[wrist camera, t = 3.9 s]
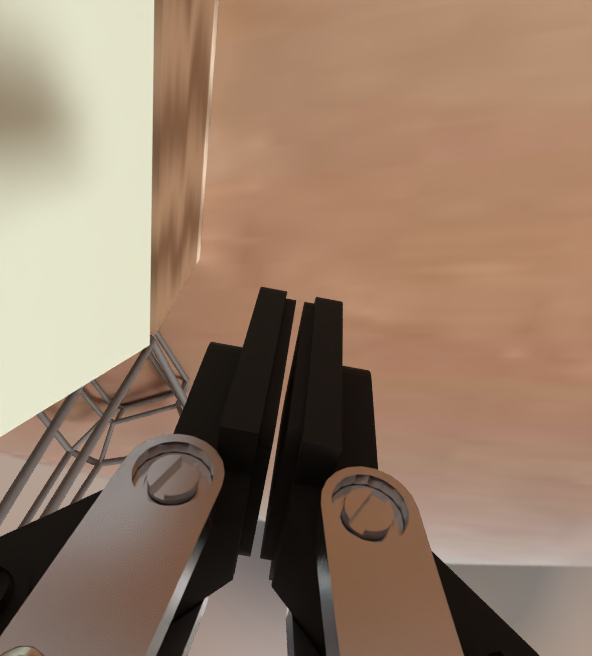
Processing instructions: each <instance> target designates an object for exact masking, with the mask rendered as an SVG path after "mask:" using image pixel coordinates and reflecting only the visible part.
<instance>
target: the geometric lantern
mask: <svg viewBox="0 0 592 656" xmlns="http://www.w3.org/2000/svg"><path fill="white" fill-rule="evenodd" d="M155 336H156V337H157V339H158V340H159V342H160V343H161V345H162V346H163V348H164V349H165V351H166V353H167V354H168V356H169V357H170V359H171V360H172V362H173V363H174V365H175V366H176V368H177V369H178V371H179V373H180V374H181V376H182V377H183V379H184V380H185V382H184V383H183V385H182V387H181V385H180V383H179V381H178V380H177V378H176V376H175V374H174V372H173V370H172V368H171V367H170V365H169V363H168V361H167V359H166V357H165V355H164V354H163V352H162V350H161V348H160V346H159V344H158V343H157V341H156V339H155V338H154V337H153V336H152V335H150V345H149V346H147V347H146V348H144V349H143V350H142V352H141V353H140V355H139V357H138V358H137V360H136V362H135V363H134V365H133V367H132V368H131V370H130V372H129V373H128V375H127V376H126V378H125V380H124V381H123V383H122V385H121V386H120V388H119V389H118V391H117V393H116V394H115V396H114V398H113V399H112V401H111V400H110V399H109V398H108V396H107V395H106V394H105V392H104V391H103V390H102V388H101V387H100V386H99V385H98V383H97V382H96V381H95V379H94V380H92V381H91V383H92V384H93V385H94V387H95V388H96V389H97V390H98V392H99V393H100V394H101V396H102V397H103V398H104V399H105V401H106V402H107V403H108V405H109V406H108V407H107V409H106V411H105V412H104V414H103V412H102V411H101V410H100V409H99V408H98V407H97V405H96V404H95V403H94V402H93V401H92V400H91V398H90V397H89V396H88V395H87V394H86V392H85V391H84V390H83V388H84V386H85V385H84V386H82V387H81V388H79V389H77V390H76V391H74V392H72V393H71V394H69V395H68V396H67V397H66V399H65V401H64V402H63V404H62V405H61V407H60V409H59V410H58V412H57V413H56V415H55V417H54V418H53V420H52V421H50V419H49V418H48V417H47V416H46V414H45V413H44V412H43V411H41V412H40V413H38V414H37V416H38V417H39V419H40V420H41V421H42V422H43V423H44V425H45V426H46V427H47V429H46V431H45V433H44V434H43V436H42V437H41V439H40V441H39V442H38V444H37V445H36V447H35V449H34V450H33V452H32V453H31V455H30V457H29V458H28V460H27V461H26V463H25V465H24V466H23V468H22V470H21V471H20V472H19V474H18V476H17V477H16V479H15V480H14V482H13V484H12V485H11V487H10V488H9V490H8V492H7V493H6V495H5V496H4V498H3V500H2V501H1V503H0V525H1V524H2V522H3V520H4V519H5V517H6V515H7V514H8V512H9V510H10V509H11V507H12V505H13V504H14V502H15V500H16V499H17V497H18V496H19V494H20V492H21V491H22V489H23V487H24V485H25V484H26V482H27V481H28V479H29V477H30V475H31V474H32V472H33V471H34V469H35V467H36V466H37V464H38V462H39V461H40V459H41V457H42V456H43V454H44V452H45V451H46V449H47V447H48V446H49V444H50V442H51V441H52V439H53V437H55V438H56V439H57V441H58V442H59V443H60V444H61V446H62V447H63V448H64V449H65V451H66V453H65V455H64V456H63V458H62V459H61V461H60V462H59V464H58V466H57V467H56V469H55V470H54V472H53V473H52V475H51V477H50V478H49V480H48V481H47V483H46V484H45V486H44V488H43V489H42V491H41V493H40V494H39V495H38V497H37V499H36V500H35V502H34V504H33V505H32V507H31V508H30V510H29V511H28V513H27V514H26V516H25V518H24V519H23V521H22V522H21V524H20V525H19V527H18V528H20V527H23V526H25V525H27V524H29V523H30V522H31V520H32V518H33V517H34V515H35V514H36V512H37V510H38V509H39V507H40V505H41V504H42V502H43V501H44V499H45V497H46V496H47V494H48V493H49V491H50V489H51V488H52V486H53V484H54V483H55V481H56V479H57V478H58V476H59V475H60V473H61V471H62V470H63V468H64V467H65V465H66V463H67V462H68V460H69V459H70V457H71V456H74V457H76V459H75V461H74V463H73V464H72V466H71V468H70V469H69V471H68V473H67V474H66V476H65V477H64V479H63V481H62V482H61V484H60V486H59V487H58V489H57V490H56V492H55V494H54V495H53V497H52V498H51V500H50V502H49V503H48V505H47V507H46V509H45V510H44V512H43V513H42V515H41V516H40V518H42V517H44V516H47V515H49V514H51V513H53V512H55V511H57V510H58V508H59V506H60V505H61V503H62V501H63V499H64V498H65V496H66V494H67V493H68V491H69V489H70V488H71V486H72V484H73V482H74V480H75V479H76V477H77V476H78V474H79V472H80V471H81V469H82V467H83V466H84V464H85V462H87V463H90V464H92V465H95V466H94V468H93V469H92V471H91V473H90V474H89V476H88V477H87V479H86V480H85V482H84V483H83V485H82V486H81V488H80V489H79V491H78V492H77V494H76V496H75V497H74V499H73V500H72V502H71V504H73V503H75V502H77V501H79V500H81V499H82V497H83V495H84V494H85V492H86V491H87V489H88V487H89V486H90V484H91V483H92V481H93V480H94V478H95V477H96V475H97V473H98V472H99V470H100V469H101V467H102V466H108V465H114V464H121V463H122V462H123V461H124V460H125V458H126V457H127V456H125V457H118V458H112V459H105V460H104V457H105V454H106V451H107V448H108V445H109V442H110V438H111V435H112V432H113V429H114V426H115V424H119V423H123V422H127V421H130V420H134V419H138V418H141V417H145V416H149V415H153V414H156V413H160V412H164V411H168V410H171V409H175V408H177V410H178V413H179V416H181V413H182V408H181V405H182V407H183V408H184V406H185V403H186V401H187V396H186V392H188V390H189V378H188V377H187V375H186V374H185V372H184V371H183V369H182V367H181V366H180V364H179V363H178V361H177V360H176V358H175V357H174V355H173V353H172V352H171V350H170V349H169V347H168V346H167V344H166V343H165V341H164V339H163V338H162V336H161V335H160V333H159V332H157V333H156V335H155ZM151 350H153V351H154V353H155V355H156V357H157V359H158V360H159V362H160V364H161V366H162V368H163V369H162V368H161V366H160V365H159V363H158V362H157V360H156V359H155V357H154V356H153V354H152V353H151ZM147 357H149V359H150V360H151V361H152V363H153V364H154V366H155V367H156V369H157V370H158V372H159V373H160V375H161V376H162V378H163V379H164V380H165V382H166V383H167V385H168V386H169V388H170V389H171V391H172V393H168V394H165V395H161V396H158V397H154V398H150V399H147V400H143V401H140V402H136V403H132V404H129V405H125V406H124V405H120V403H121V401H122V400H123V398H124V396H125V395H126V393H127V391H128V389H129V388H130V386H131V384H132V383H133V381H134V379H135V378H136V376H137V374H138V373H139V371H140V369H141V367H142V366H143V364H144V362H145V361H146V359H147ZM163 370H164V371H165V372H164V371H163ZM165 373H166V374H165ZM79 394H81V395H82V396H83V397H84V398H85V400H86V401H87V402H88V403H89V404H90V405H91V407H92V408H93V409H94V410H95V411H96V412H97V414H98V415H99V416H100V417H101V419H100V420H99V421H98V422H97V423H96V424H95V425H94V426H93V427H92V428H91V429H90V430H89V431H88V432H87V433H86V434H85V435H84V436H83V437H82V438H81V439H80V440H79V441H78V442H77V443H76V444H75V445H74V446H73V447H71V446H70V444H69V443H68V442H67V441H66V439H65V438H64V437H63V436H62V434H61V433H60V432H59V431H58V429H59V427H60V426H61V424H62V422H63V421H64V419H65V417H66V416H67V414H68V412H69V411H70V409H71V407H72V406H73V404H74V402H75V401H76V399H77V398H78V396H79ZM173 396H175V397H176V398H177V399H178V400H177V402H176V403H175V404H173V405H169V406H166V407H162V408H158V409H155V410H151V411H147V412H143V413H140V414H136V415H132V416H129V417H125V418H121V417H122V415H123V413H124V411H125V410H127V409H130V408H133V407H137V406H141V405H144V404H148V403H151V402H155V401H159V400H162V399H166V398H170V397H173ZM117 408H119V409H121V410H120V412H119V413H118V415H117V417H116V419H115V420H113V419H111V418H112V417H113V415H114V413H115V411H116V410H117ZM120 418H121V419H120ZM108 423H111V424H110V427H109V430H108V433H107V436H106V440H105V443H104V446H103V449H102V452H101V455H100V459H99V460H97V459H95V458H92V457H90V456H89V455H90V454H91V452H92V450H93V449H94V447H95V445H96V444H97V442H98V440H99V439H100V437H101V435H102V433H103V432H104V430H105V428H106V427H107V425H108ZM89 436H90V437H89ZM88 437H89V438H88ZM87 438H88V440H87V441H86V443H85V445H84V446H83V448H82V450H81V451H80V452H79V451H77V450H76V449H77V448H78V447H79V446H80V445H81V444H82V443H83V442H84V441H85V440H86V439H87ZM71 504H70V505H71ZM40 518H39V519H40Z"/></svg>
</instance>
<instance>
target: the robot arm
mask: <svg viewBox="0 0 592 656" xmlns="http://www.w3.org/2000/svg"><path fill="white" fill-rule="evenodd" d="M286 295H287V291H281V290H276V289H271V288H265V287H261V288H260V291H259V294H258V298H257V301H256V305H255V308H254V311H253V315H252V318H251V321H250V325H249V328H248V332H247V335H246V338H245V342H244V345H243V347H237V346H232V345H226V344H221V343H215V342H211V343H210V344H209V346H208V348H207V351H206V353H205V356H204V358H203V361H202V363H201V366H200V368H199V371H198V373H197V376H196V378H195V381H194V383H193V386H192V388H191V391H190V393H189V396H188V398H187V401H186V403H185V406H184V408H183V411H182V413H181V416H180V418H179V421H178V423H177V426H176V428H175V431H174V433H173V434H169V435H161V436H158V437H155V438H151V439H149V440H147V441H145V442H143V443H142V444H140V445H138V446H137V447H136V448H135V449H134V450H133V451H132V452H131V453H130V454H129V455H128V456H127V457H126V458H125V460H124V461H123V462H122V464H121V465H120V467H119V468H118V470H117V471H116V472H115V474H114V475H113V477H112V478H111V480H110V481H109V482H108V484H107V485H106V487H105V488H104V489H103V490H101V491H99V492H97V493H95V494H93V495H90V496H88V497H86V498H84V499H81V500H79V501H77V502H75V503H73V504H71V505H68V506H66V507H64V508H62V509H60V510H57V511H55V512H53V513H51V514H49V515H47V516H44V517H42V518H40V519H38V520H36V521H33V522H31V523H29V524H27V525H25V526H23V527H20V528H18V529H16V530H14V531H12V532H9V533H7V534H5V535H3V536H1V537H0V656H187V655H188V652H189V650H190V647H191V645H192V642H193V640H194V637H195V635H196V632H197V629H198V627H199V624H200V621H201V619H202V616H203V614H204V611H205V609H206V606H207V601H208V597H209V595H211V594H212V593H214V592H215V591H217V590H218V589H219V588H221V587H222V586H224V585H225V584H227V583H228V582H230V581H231V580H232V579H233V575H234V573H235V568H236V562H237V557H238V555H244V556H250V555H251V550H252V544H253V540H254V535H255V530H256V525H257V520H258V515H259V510H260V505H261V500H262V495H263V490H264V485H265V480H266V475H267V470H268V465H269V460H270V455H271V450H272V444H273V439H274V433H275V428H276V422H277V416H278V410H279V403H280V397H281V391H282V385H283V379H284V373H285V366H286V360H287V354H288V348H289V342H290V336H291V330H292V323H293V317H294V311H295V305H296V300H291V299H286ZM342 341H343V302H341V301H335V300H330V299H324V298H319V297H316V299H315V303H314V304H313V303H307V302H304V306H303V311H302V316H301V321H300V326H299V331H298V336H297V341H296V346H295V351H294V356H293V360H292V365H291V370H290V375H289V380H288V385H287V390H286V395H285V400H284V405H283V411H282V417H281V423H280V430H279V436H278V443H277V449H276V456H275V463H274V469H273V476H272V482H271V489H270V495H269V502H268V508H267V515H266V522H265V528H264V535H263V541H262V548H261V555H260V558H261V559H267V560H271V568H270V575H269V580H272V588H273V589H274V590H275V592H276V593H277V594H278V596H279V597H280V598H281V600H282V601H283V602H284V603H285V605H286V606H287V613H286V632H287V654H288V656H539V655H538V654H537V652H535V650H533V649H532V648H531V647H530V646H529V645H528V644H527V643H526V642H525V641H524V640H523V639H522V638H521V637H520V636H519V635H518V634H517V633H516V632H515V631H514V630H513V629H512V628H511V627H510V626H509V625H508V624H507V623H505V621H503V620H502V619H501V618H500V617H499V616H498V615H497V614H496V613H495V612H494V611H493V610H492V609H491V608H490V607H489V606H488V605H487V604H486V603H485V602H484V601H483V600H482V599H481V598H480V597H479V596H478V595H477V594H476V593H474V592H473V591H472V590H471V589H470V588H469V587H468V586H467V585H466V584H465V583H464V582H463V581H462V580H461V579H460V578H459V577H458V576H457V575H456V574H455V573H454V572H453V571H452V570H451V569H450V568H449V567H448V566H447V565H446V564H445V563H444V562H443V561H441V560H440V559H439V558H438V557H437V556H436V555H435V554H434V553H433V552H432V551H431V548H430V545H429V542H428V539H427V535H426V532H425V529H424V526H423V522H422V519H421V516H420V513H419V510H418V507H417V505H416V503H415V501H414V499H413V497H412V495H411V494H410V493H409V492H408V490H407V489H406V488H405V487H404V486H403V485H402V484H401V483H400V482H399V481H397V480H396V479H394V478H393V477H392V476H390V475H389V474H386V473H384V472H382V471H379V470H378V462H377V448H376V435H375V421H374V407H373V393H372V379H371V373H370V371H369V370H363V369H358V368H352V367H347V366H342Z"/></svg>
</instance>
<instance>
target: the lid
mask: <svg viewBox="0 0 592 656" xmlns="http://www.w3.org/2000/svg"><path fill="white" fill-rule="evenodd" d="M153 59H154V0H0V437H1V436H2V435H4V434H6V433H7V432H9V431H10V430H12V429H14V428H15V427H17V426H19V425H20V424H22V423H23V422H25V421H27V420H28V419H30V418H32V417H33V416H35V415H37V414H38V413H40V412H41V411H43V410H45V409H46V408H48V407H50V406H51V405H53V404H54V403H56V402H58V401H59V400H61V399H63V398H64V397H66V396H68V395H69V394H71V393H72V392H74V391H76V390H77V389H79V388H81V387H82V386H84V385H85V384H87V383H89V382H90V381H92V380H94V379H95V378H97V377H99V376H100V375H102V374H103V373H105V372H107V371H108V370H110V369H112V368H113V367H115V366H116V365H118V364H120V363H121V362H123V361H125V360H126V359H128V358H130V357H131V356H133V355H134V354H136V353H138V352H139V351H141V350H143V349H144V348H146V347H147V346H149V345H150V285H151V210H152V135H153Z"/></svg>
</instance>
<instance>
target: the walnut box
mask: <svg viewBox="0 0 592 656" xmlns="http://www.w3.org/2000/svg"><path fill="white" fill-rule="evenodd" d="M218 5H219V0H154V59H153V135H152V210H151V285H150V334H154V335H156V333H157V332H158V330H159V328H160V326H161V325H162V323H163V321H164V319H165V318H166V316H167V314H168V313H169V311H170V309H171V307H172V306H173V304H174V302H175V300H176V299H177V297H178V295H179V293H180V292H181V290H182V288H183V287H184V285H185V283H186V281H187V280H188V278H189V276H190V274H191V273H192V271H193V269H194V267H195V266H196V264H197V262H198V261H199V259H200V249H201V235H202V221H203V208H204V194H205V181H206V167H207V154H208V140H209V127H210V113H211V100H212V86H213V73H214V59H215V46H216V32H217V19H218Z"/></svg>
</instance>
